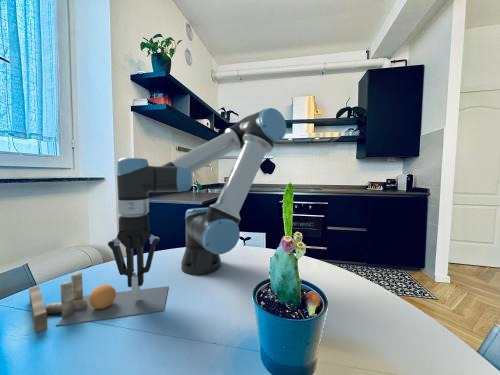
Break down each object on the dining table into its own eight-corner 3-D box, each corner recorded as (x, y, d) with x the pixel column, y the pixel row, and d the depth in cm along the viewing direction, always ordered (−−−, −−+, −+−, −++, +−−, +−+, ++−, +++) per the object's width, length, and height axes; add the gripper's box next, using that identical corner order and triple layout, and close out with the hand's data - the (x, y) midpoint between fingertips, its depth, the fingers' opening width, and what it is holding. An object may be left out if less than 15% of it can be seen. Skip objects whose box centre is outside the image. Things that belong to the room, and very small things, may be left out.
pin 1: (76, 311, 58) (74, 280, 58) (71, 317, 56) (69, 284, 56) (65, 313, 58) (63, 281, 57) (60, 319, 55) (58, 286, 55)
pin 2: (84, 301, 63) (83, 272, 63) (80, 306, 61) (79, 275, 60) (74, 302, 63) (73, 272, 62) (70, 307, 60) (69, 276, 60)
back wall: (29, 301, 63) (29, 287, 63) (39, 298, 64) (38, 285, 64) (35, 332, 51) (34, 315, 50) (47, 328, 52) (46, 311, 52)
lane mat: (168, 286, 72) (168, 286, 72) (163, 311, 59) (163, 310, 59) (81, 296, 65) (81, 296, 65) (55, 326, 53) (55, 325, 53)
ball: (90, 284, 61) (97, 302, 63) (82, 298, 56) (90, 318, 57) (114, 277, 63) (120, 294, 65) (108, 290, 58) (116, 309, 59)
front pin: (87, 297, 61) (49, 302, 59) (83, 301, 59) (44, 306, 57) (87, 306, 61) (50, 311, 59) (83, 310, 59) (44, 316, 57)
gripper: (102, 218, 56) (105, 308, 58) (157, 215, 60) (159, 301, 61) (112, 212, 64) (114, 292, 65) (161, 211, 67) (162, 287, 68)
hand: (136, 296), depth 63 cm, fingers closed
